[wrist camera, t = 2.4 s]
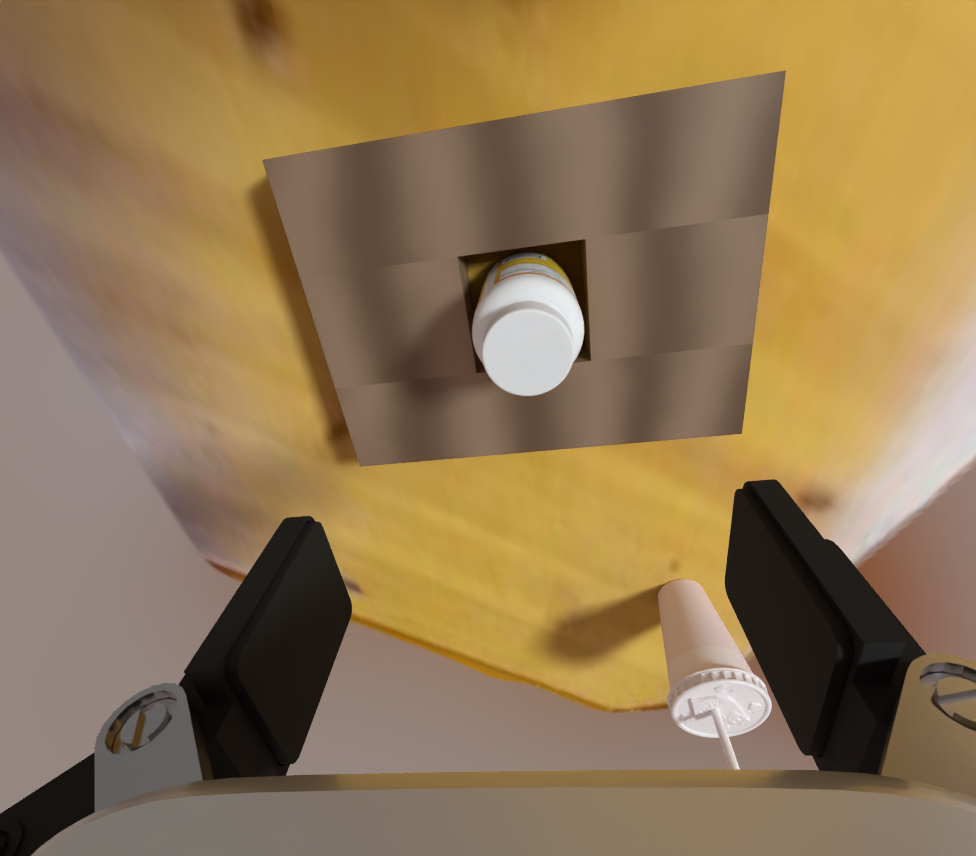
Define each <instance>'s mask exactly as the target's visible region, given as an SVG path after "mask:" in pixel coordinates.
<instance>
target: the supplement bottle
mask: <svg viewBox="0 0 976 856" xmlns="http://www.w3.org/2000/svg"><path fill="white" fill-rule="evenodd" d="M472 338H473V344H474V347H475V350H476V353H477V355H478V357H479V359H480V360H481V362H482V363H483V365H484V368H485V370H486V372H487V374H488V376H489V377H490V378H491V380H492V381H493V382H494V383H495V384H496V385H497V386H499V387H500V388H501V389H503V390H505V391H507V392H509V393H512V394H515V395H520V396H534V395H539V394H543V393H545V392H548V391H550V390H552V389H553V388H555V387H556V386H557V385H559V384H560V383H561V382H562V381H563V380H564V379H565V377H566V376H567V374H568V373H569V371H570V369H571V366H572V363H573V362H574V361H575V359H576V358H577V356H578V354H579V352H580V349H581V346H582V343H583V338H584V321H583V316H582V312H581V309H580V306H579V304H578V301H577V299H576V296H575V293H574V290H573V287H572V285H571V282H570V279H569V277H568V275H567V274H566V272H565V270H564V269H563V268H562V266H561V265H560V264H559V263H558V262H557V261H555V260H554V259H553V258H551V257H549V256H547V255H545V254H542V253H539V252H533V251H522V252H517V253H513V254H511V255H508V256H506V257H505V258H503V259H501V260H500V261H499V262H498V263H497V264H495V265H494V267H493V268H492V269H491V270H490V272H489V273H488V275H487V277H486V279H485V281H484V284H483V287H482V291H481V294H480V298H479V301H478V304H477V307H476V310H475V314H474V318H473V326H472Z"/></svg>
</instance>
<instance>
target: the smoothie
mask: <svg viewBox="0 0 976 856" xmlns="http://www.w3.org/2000/svg"><path fill="white" fill-rule="evenodd" d="M657 597H658V605H659V612H660V620H661V627H662V634H663V641H664V649H665V656H666V663H667V670H668V679H669V685H670V691H669V694H668V696H667V702H668V706H669V708H670V712H671V715H672V718H673V720H674V722H675V723H676V724H677V725H678V726H679V727H680V728H681V729H683V730H685V731H687V732H689V733H691V734H694V735H698V736H703V737H711V738H720V742H721V745H722V748H723V751H724V754H725V757H726V760H727V763H728V766H729V769H730V770H740V768H739V765H738V763H737V760H736V757H735V754H734V751H733V748H732V745H731V742H730V740H729V737H730V736H736V735H739V734H743V733H745V732H748V731H750V730H752V729H754V728H756V727H757V726H759V725H760V724H761V723H763V722H764V721H765V719H766V718H767V717H768V716H769V714H770V711H771V708H772V704H771V700H770V697H769V695H768V692H767V689H766V686H765V684H764V683H763V682H762V681H761V679H759V677H757V676H755V675H754V674H753V673H752V671H751V670H750V668H749V666H748V664H747V662H746V661H745V659H744V658H743V656H742V654H741V653H740V651H739V649H738V648H737V646H736V644H735V642H734V641H733V639H732V637H731V636H730V634H729V632H728V631H727V629H726V627H725V625H724V624H723V622H722V620H721V619H720V617H719V615H718V614H717V612H716V610H715V608H714V607H713V605H712V603H711V602H710V600H709V598H708V597H707V595H706V593H705V591H704V590H703V588H702V587H701V585H700V584H698V583H697V582H695V581H692V580H687V579H679V580H674V581H671V582H669V583H667V584H665V585H664V586H663V587H662V588H661V589H660V590H659V592H658V596H657Z"/></svg>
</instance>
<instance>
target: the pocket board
mask: <svg viewBox="0 0 976 856" xmlns="http://www.w3.org/2000/svg"><path fill="white" fill-rule="evenodd" d="M785 73H786V71H780V72H774V73H768V74H763V75H757V76H751V77H745V78H739V79H733V80H727V81H722V82H716V83H710V84H704V85H698V86H692V87H686V88H681V89H675V90H669V91H663V92H657V93H651V94H645V95H640V96H634V97H628V98H622V99H616V100H610V101H605V102H599V103H593V104H587V105H581V106H575V107H569V108H564V109H558V110H552V111H546V112H540V113H534V114H528V115H523V116H517V117H511V118H505V119H499V120H493V121H488V122H482V123H476V124H470V125H464V126H458V127H452V128H447V129H441V130H435V131H429V132H423V133H417V134H411V135H406V136H400V137H394V138H388V139H382V140H376V141H371V142H365V143H359V144H353V145H347V146H341V147H335V148H330V149H324V150H318V151H312V152H306V153H300V154H294V155H289V156H283V157H277V158H271V159H265V160H262V161H263V164H264V167H265V170H266V173H267V176H268V179H269V182H270V186H271V189H272V192H273V195H274V198H275V201H276V204H277V208H278V211H279V214H280V217H281V220H282V223H283V226H284V230H285V233H286V236H287V239H288V242H289V245H290V248H291V252H292V255H293V258H294V261H295V264H296V267H297V270H298V273H299V277H300V280H301V283H302V286H303V289H304V292H305V295H306V299H307V302H308V305H309V308H310V311H311V314H312V317H313V321H314V324H315V327H316V330H317V333H318V336H319V339H320V343H321V346H322V349H323V352H324V355H325V358H326V361H327V364H328V368H329V371H330V374H331V377H332V380H333V383H334V386H335V390H336V393H337V396H338V399H339V402H340V405H341V408H342V412H343V415H344V418H345V421H346V424H347V427H348V430H349V434H350V437H351V440H352V443H353V446H354V449H355V452H356V455H357V459H358V462H359V465H360V466H371V465H383V464H395V463H406V462H418V461H429V460H441V459H453V458H464V457H476V456H488V455H499V454H511V453H523V452H534V451H546V450H557V449H569V448H581V447H592V446H604V445H616V444H627V443H639V442H651V441H662V440H674V439H686V438H697V437H709V436H720V435H732V434H742V427H743V419H744V411H745V403H746V394H747V386H748V378H749V370H750V361H751V353H752V345H753V337H754V328H755V320H756V312H757V304H758V295H759V287H760V279H761V271H762V262H763V254H764V246H765V238H766V229H767V221H768V213H769V205H770V196H771V188H772V180H773V172H774V163H775V155H776V147H777V139H778V130H779V122H780V114H781V106H782V97H783V89H784V81H785ZM575 240H580V244H581V264H582V284H583V305H584V325H585V343H582V346H581V349H580V352H579V354H578V356H577V358H576V359H575V361H574V362H573V363H572V366H571V369H570V371H569V373H568V374H567V376H566V377H565V379H564V380H563V381H562V382H561V383H560V384H559V385H557V386H556V387H555V388H553V389H552V390H550V391H548V392H545V393H543V394H539V395H534V396H520V395H515V394H512V393H509V392H507V391H505V390H503V389H501V388H500V387H499V386H497V385H496V384H495V383H494V382H493V381H492V380H491V378H490V377H489V376H488V374H487V372H486V370H485V368H484V365H483V363H482V362H481V360H480V359H479V357H478V355H477V353H476V350H475V347H474V344H473V338H472V326H473V318H474V311H473V304H472V298H471V292H470V285H469V279H468V273H467V266H466V260H465V256H466V255H473V254H480V253H488V252H495V251H502V250H509V249H517V248H524V247H531V246H538V245H546V244H553V243H560V242H568V241H575Z"/></svg>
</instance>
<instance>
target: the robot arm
mask: <svg viewBox="0 0 976 856" xmlns="http://www.w3.org/2000/svg"><path fill="white" fill-rule="evenodd" d="M725 588H726V593H727V596H728V598H729V601H730V603H731V605H732V607H733V609H734V611H735V613H736V615H737V618H738V620H739V622H740V624H741V626H742V628H743V630H744V632H745V635H746V637H747V639H748V641H749V643H750V645H751V647H752V649H753V652H754V654H755V656H756V658H757V660H758V662H759V664H760V666H761V669H762V670H763V673H764V675H765V677H766V679H767V681H768V683H769V686H770V688H771V690H772V692H773V694H774V696H775V698H776V700H777V703H778V704H779V707H780V709H781V711H782V713H783V715H784V717H785V719H786V721H787V724H788V726H789V728H790V730H791V732H792V734H793V736H794V738H795V741H796V743H797V745H798V747H799V749H800V750H801V752H802V753H803V754H804V755H812V756H813V758H814V760H815V763H816V765H817V767H818V769H819V771H816V770H730V769H728V770H726V769H711V770H710V769H708V770H590V771H589V770H586V771H511V772H509V771H507V772H444V773H443V772H439V773H383V774H338V775H337V774H334V775H332V774H331V775H293V776H286V773H287V771H288V768H289V765H290V764H293V763H295V762H296V761H297V759H298V758H299V755H300V753H301V750H302V748H303V745H304V742H305V739H306V737H307V734H308V731H309V729H310V726H311V723H312V721H313V718H314V715H315V712H316V710H317V707H318V704H319V702H320V699H321V696H322V693H323V691H324V688H325V685H326V683H327V680H328V677H329V675H330V672H331V669H332V666H333V664H334V661H335V658H336V656H337V653H338V650H339V647H340V645H341V642H342V639H343V637H344V634H345V631H346V629H347V626H348V623H349V620H350V618H351V613H352V604H351V600H350V597H349V595H348V592H347V589H346V587H345V584H344V582H343V579H342V576H341V574H340V571H339V568H338V566H337V563H336V561H335V558H334V555H333V553H332V550H331V547H330V545H329V542H328V539H327V537H326V534H325V532H324V529H323V526H322V524H321V523H320V522H315V520H314V519H313V518H312V517H311V516H303V517H290V518H286V519H284V520H283V521H282V523H281V524H280V526H279V527H278V529H277V530H276V532H275V533H274V535H273V536H272V538H271V539H270V541H269V542H268V544H267V546H266V547H265V549H264V550H263V552H262V553H261V555H260V556H259V558H258V559H257V561H256V562H255V564H254V565H253V567H252V568H251V570H250V571H249V573H248V575H247V576H246V578H245V579H244V581H243V582H242V584H241V585H240V587H239V588H238V590H237V591H236V593H235V595H234V596H233V598H232V599H231V600H230V602H229V604H228V605H227V607H226V608H225V610H224V611H223V613H222V614H221V616H220V617H219V619H218V620H217V622H216V624H215V625H214V627H213V628H212V630H211V631H210V633H209V634H208V636H207V637H206V639H205V640H204V642H203V643H202V645H201V646H200V648H199V650H198V651H197V652H196V654H195V655H194V657H193V659H192V660H191V662H190V663H189V665H188V666H187V668H186V669H185V671H184V673H185V676H184V677H183V679H182V680H181V682H180V683H179V685H177V684H175V683H163V684H159V685H154V686H151V687H149V688H147V689H145V690H143V691H140V692H139V693H137V694H136V695H134V696H133V697H131V698H130V699H128V700H127V701H126V702H124V704H122V705H121V706H120V707H119V708H118V709H117V710H115V711H114V712H113V714H112V715H111V716H110V717H109V719H108V720H107V721H106V722H105V723H104V725H103V727H102V729H101V730H100V732H99V734H98V736H97V739H96V744H95V753H93V754H92V755H90V756H88V757H87V758H85V759H84V760H82V761H81V762H79V763H78V764H76V765H75V766H73V767H72V768H70V769H68V770H67V771H65V772H64V773H62V774H61V775H59V776H58V777H56V778H55V779H53V780H52V781H50V782H48V783H47V784H46V785H44V786H42V787H41V788H39V789H38V790H36V791H35V792H33V793H32V794H30V795H28V796H27V797H25V798H24V799H22V800H21V801H20V802H18V803H16V804H15V805H13V806H12V807H10V808H8V809H7V810H5V811H4V812H3V813H1V814H0V856H976V662H974V661H970V660H967V659H964V658H961V657H958V656H953V655H945V654H929V655H927V654H926V653H925V652H924V651H923V649H922V648H921V647H920V646H919V644H918V643H917V642H916V641H915V640H914V638H913V637H912V636H911V635H910V633H909V632H908V631H907V630H906V629H905V627H904V626H903V625H902V624H901V622H900V621H899V620H898V619H897V618H896V616H895V615H894V614H893V613H892V611H891V610H890V609H889V608H888V607H887V606H886V604H885V603H884V602H883V600H882V599H881V598H880V597H879V595H878V594H877V593H876V592H875V591H874V589H873V588H872V587H871V586H870V584H869V583H868V582H867V581H866V580H865V578H864V577H863V576H862V575H861V573H860V572H859V571H858V570H857V568H856V567H855V566H854V565H853V564H852V562H851V561H850V560H849V559H848V557H847V556H846V555H845V554H844V553H843V551H842V550H841V549H840V548H839V547H838V546H837V545H836V544H835V543H834V542H833V541H830V540H828V539H824V538H823V537H822V536H821V535H820V533H819V532H818V531H817V529H816V528H815V527H814V526H813V524H812V523H811V522H810V521H809V519H808V518H807V517H806V516H805V514H804V513H803V512H802V511H801V509H800V508H799V507H798V506H797V504H796V503H795V502H794V501H793V499H792V498H791V497H790V495H789V494H788V493H787V492H786V490H785V489H784V488H783V487H782V485H781V484H780V483H779V482H778V481H777V480H774V479H773V480H760V481H748V482H745V484H744V486H743V489H737V490H736V492H735V496H734V504H733V513H732V522H731V530H730V539H729V548H728V556H727V565H726V574H725Z"/></svg>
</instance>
